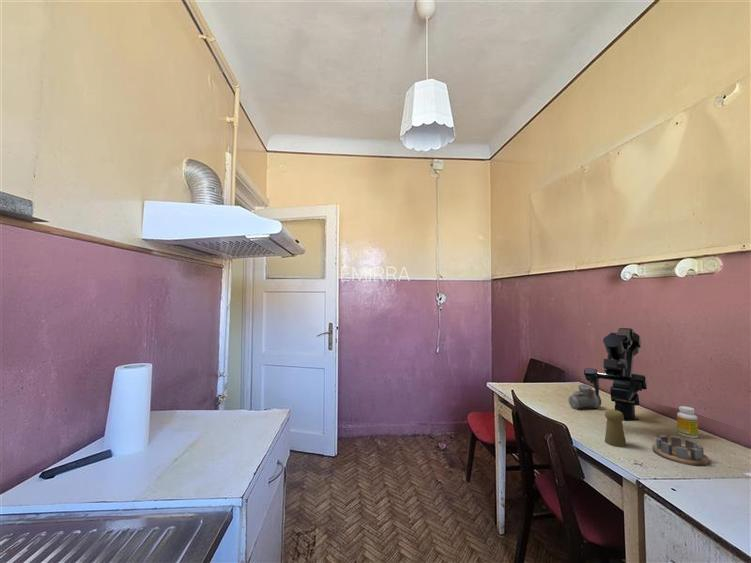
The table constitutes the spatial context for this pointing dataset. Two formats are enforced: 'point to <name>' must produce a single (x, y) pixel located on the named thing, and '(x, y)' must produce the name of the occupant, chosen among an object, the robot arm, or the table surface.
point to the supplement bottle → (687, 422)
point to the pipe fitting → (584, 398)
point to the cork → (615, 429)
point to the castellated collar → (681, 452)
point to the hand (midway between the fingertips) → (612, 398)
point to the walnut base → (679, 460)
